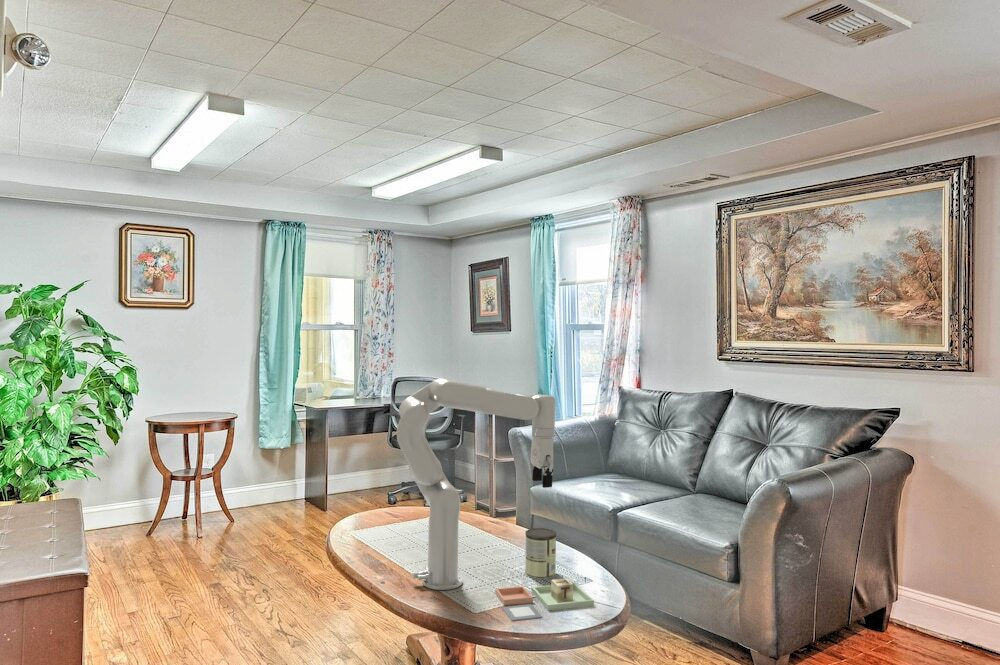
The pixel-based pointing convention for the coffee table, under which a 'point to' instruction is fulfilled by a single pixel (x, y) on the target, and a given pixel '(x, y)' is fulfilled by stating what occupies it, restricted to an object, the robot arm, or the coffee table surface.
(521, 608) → the grey framed white tile
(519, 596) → the terracotta dish
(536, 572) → the coffee can
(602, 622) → the coffee table surface
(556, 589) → the letter cube
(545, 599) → the green tray
